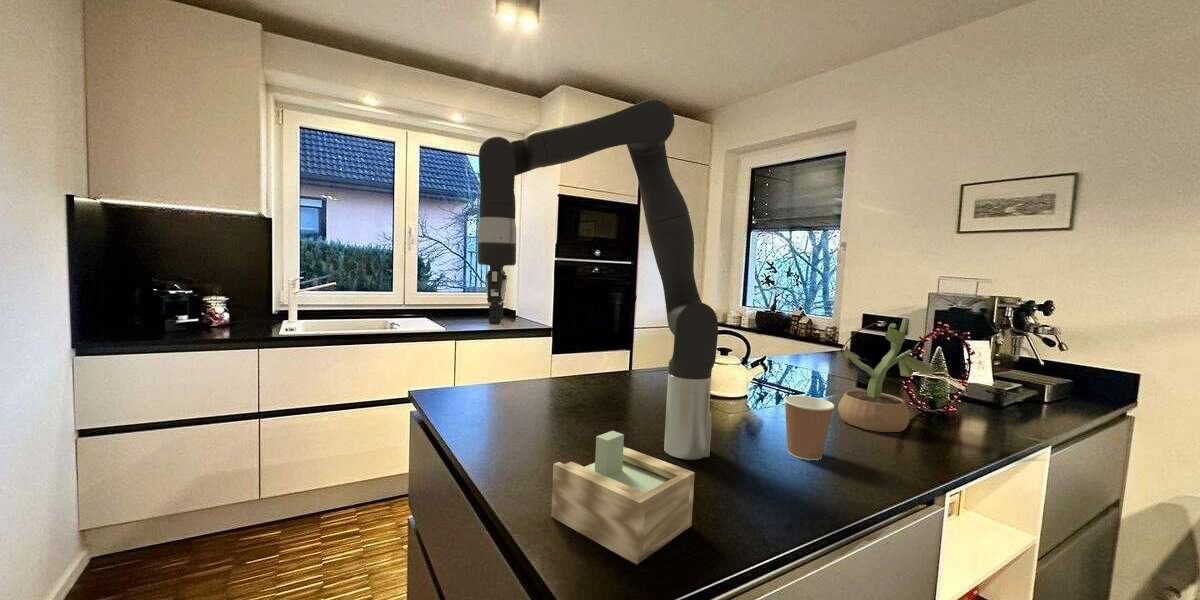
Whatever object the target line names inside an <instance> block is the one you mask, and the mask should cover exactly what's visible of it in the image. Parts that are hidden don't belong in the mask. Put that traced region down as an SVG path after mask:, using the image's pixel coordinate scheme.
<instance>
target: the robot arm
mask: <svg viewBox="0 0 1200 600" xmlns="http://www.w3.org/2000/svg"><path fill="white" fill-rule="evenodd" d="M674 127H675V115H674V111H673V110H672V109H671V108H670V106H669V105H668V104H666V103H665V102H664V101H661V100H659V99H653V98H651V99H645V100H643V101H641V102H638V103H636V104H634V105H633V104H632V105H631V106H628V107H626V108H623V109H621V110H619V111H618V110H617V111H616V112H613V113H610V114H607V115H603V116H599V117H597V118H596V117H595V118H591V119H589V120H584V121H580V122H576V123H575V122H574V123H571V124H566V125H561V126H557V127H556V126H555V127H551V128H547V129H542V130H536V131H533V132H530V133H529V134H527V135H526V136H525V137H523V138H521V139H517V140H512V141H509V139H507V138H505V137H503V136H500V135H493V136H490V137H488V138H486V139H485V140H484V141H483V142H482V144H481V145H480V147H479V151H478V170H479V171H478V174H479V183H480V184H479V185H480V193H479V194H480V197H479V222H478V228H477V229H478V230H477V263H478V265H480V266H489V267H490V268H489V270H488V271H487V272H486V273H487V274H486V275H485V281H486V295H487V298H486V301H487V303H488V323H489V325H495V326H496V325H497V326H498V325H500V324H501V321H502V320H503V318H504V301H505V299H506V294H507V283H508V274H506V270H504V267H506V266H510V267H513V266H515V265H516V264H517V226H516V225H517V224H516V196H515V195H516V194H515V178H516V176H519V175H521V174H525V173H528V172H530V171H533V170H536V169H539V168H545V167H551V166H556V165H560V164H565V163H569V162H572V161H576V160H578V159H582V158H585V157H587V156H590V155H592V154H594V153H598V152H600V151H603V150H606V149H609V148H614V147H619V146H625V145H626V147H627V150H628V152H629V155H630V158H631V162H632V165H633V168H634V170H635V174H636V176H637V180H638V185H639V186H638V187H639V192H640V198H641V203H642V208H643V209H642V210H643V213H644V219H645V223H646V227H647V232H648V236H649V240H650V244H651V247H652V248H651V249H652V250H653V255H654V259H655V263H656V266H657V269H658V272H659V277H660V279H661V282H662V283H661V284H662V287H663V288H662V289H663V294H664V295H663V296H664V301H665V311H666V318H667V325H668V328H669V331H670V332H671V334H672V335H673V336H674V337H673V338H674V339H673V351H672V356H671V359H669V361H668V367H667V368H668V371H667V372H668V373H667V374H668V375H667V386H666V387H667V390H666V409H665V422H664V423H665V427H664V440H663V442H664V445H663V446H664V447H663V449H664V452H665V453H666V454H668V456H671V457H674V458H677V459H682V460H701V459H703V458H709V457H710V455H711V454H710V452H711V439H712V438H711V437H712V419H713V414H712V412H711V411H710V405H711V403H710V402H711V400H710V399H711V388H712V386H711V385H712V384H711V383H712V374H713V373H712V372H713V368H714V365H715V363H716V358H717V346H718V337H719V320H718V315H717V314H716V311H715V310H714V309H713V308H712V307H711V306H710V305H709V304H706V303H704V302H702V300H701V297H700V293H699V291H698V287H697V284H696V280H695V272H694V270H695V269H694V266H695V264H694V263H695V262H694V261H695V238H694V237H695V235H694V230H693V225H692V222H691V221H692V220H691V217H690V216H691V215H690V211H689V210H688V205H687V203H686V201H685V198H684V196H683V195H682V192H681V191H680V189H679V187H678V185H677V183H676V182H675V180H674V178H673V176H672V173H671V169H670V166H669V162H668V156H667V149H666V142H667V140H668V139H669V137H671V134H672V133H673V130H674Z"/></svg>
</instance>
